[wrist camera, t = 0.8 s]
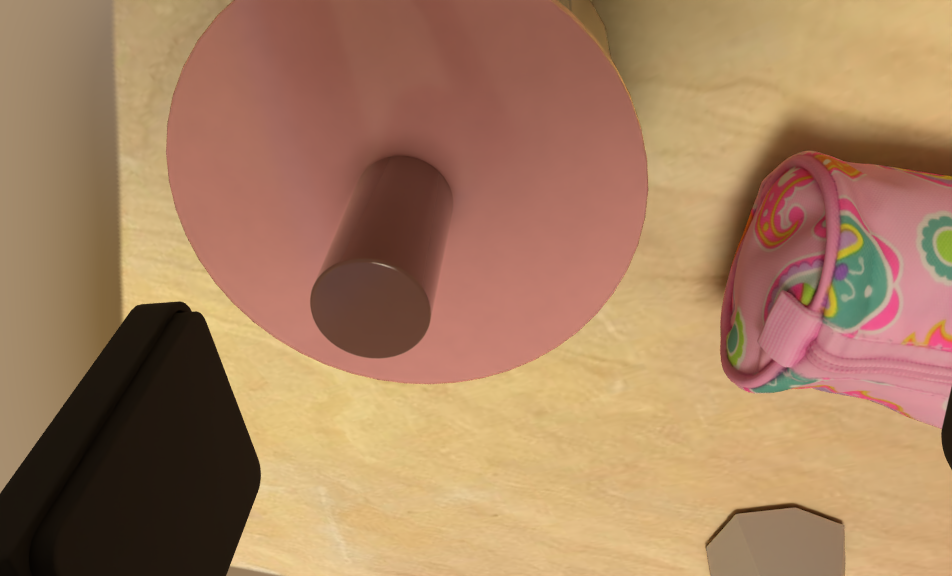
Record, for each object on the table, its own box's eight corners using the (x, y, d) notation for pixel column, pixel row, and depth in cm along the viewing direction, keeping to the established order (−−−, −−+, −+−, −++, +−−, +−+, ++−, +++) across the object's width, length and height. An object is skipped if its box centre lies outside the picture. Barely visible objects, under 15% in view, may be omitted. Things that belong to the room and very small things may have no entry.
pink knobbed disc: (184, 320, 28) (94, 464, 23) (176, -117, 21) (39, -61, 15) (578, 394, 29) (585, 553, 23) (711, -4, 21) (769, 90, 16)
